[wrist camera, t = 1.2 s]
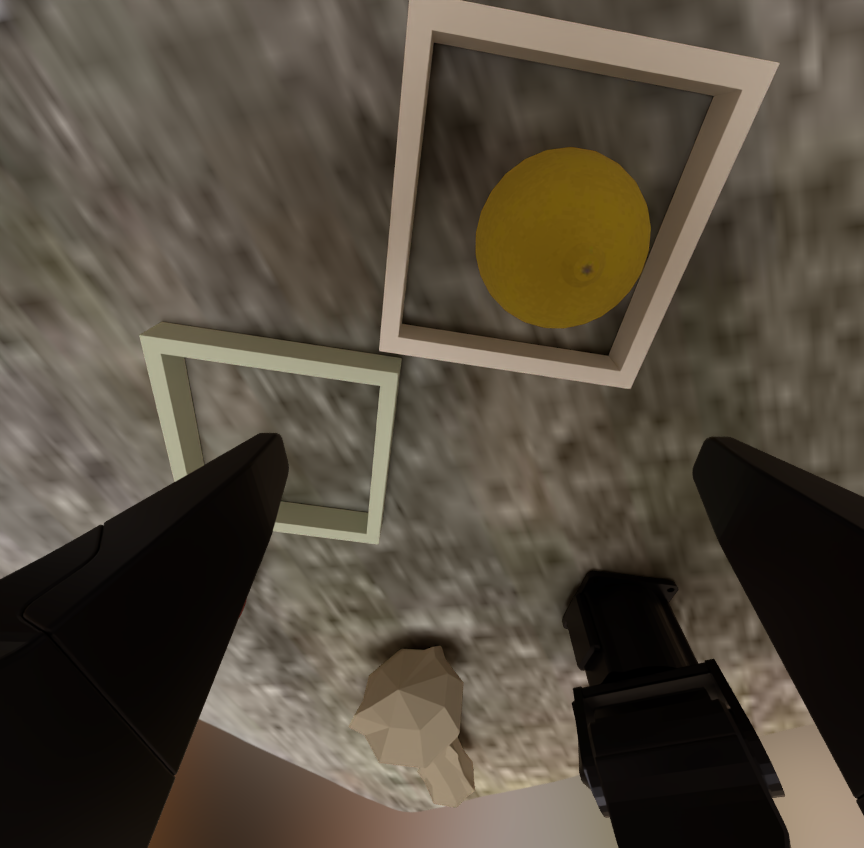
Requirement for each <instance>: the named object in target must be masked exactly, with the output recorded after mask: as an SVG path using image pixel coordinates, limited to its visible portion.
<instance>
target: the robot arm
mask: <svg viewBox="0 0 864 848" xmlns="http://www.w3.org/2000/svg"><path fill="white" fill-rule="evenodd" d="M288 472H289V464H288V459H287V455H286V451H285V447H284V443H283V440H282V437H281V435H279V434H278V433H259V434H257V435H255V436H254V437H252V438H250V439H249V440H247V441H245V442H243V443H242V444H240V445H238V446H236V447H235V448H233V449H231V450H229V451H228V452H226V453H224V454H222V455H221V456H219V457H217V458H216V459H214V460H212V461H210V462H209V463H207V464H205V465H203V466H202V467H200V468H198V469H196V470H195V471H193V472H191V473H189V474H188V475H186V476H184V477H182V478H181V479H179V480H177V481H176V482H174V483H172V484H170V485H169V486H167V487H165V488H163V489H162V490H160V491H158V492H156V493H155V494H153V495H151V496H149V497H148V498H146V499H144V500H142V501H141V502H139V503H137V504H136V505H134V506H132V507H130V508H129V509H127V510H125V511H123V512H122V513H120V514H118V515H116V516H115V517H113V518H111V519H109V520H108V521H106V522H105V523H104V526H103V525H99V526H97V527H95V528H94V529H92V530H90V531H88V532H87V533H85V534H83V535H82V536H80V537H78V538H76V539H74V540H73V541H71V542H69V543H67V544H65V545H64V546H62V547H60V548H58V549H57V550H55V551H53V552H51V553H49V554H48V555H46V556H44V557H42V558H40V559H38V560H36V561H34V562H32V563H30V564H29V565H27V566H25V567H23V568H21V569H19V570H17V571H15V572H13V573H11V574H9V575H7V576H6V577H4V578H2V579H0V848H148V845H149V843H150V840H151V838H152V835H153V833H154V830H155V828H156V825H157V823H158V820H159V818H160V815H161V813H162V810H163V808H164V805H165V803H166V800H167V798H168V795H169V793H170V790H171V788H172V785H173V783H174V780H175V776H174V775H176V774H177V772H178V769H179V767H180V764H181V762H182V759H183V757H184V754H185V752H186V749H187V747H188V744H189V742H190V739H191V737H192V734H193V732H194V729H195V727H196V724H197V722H198V719H199V717H200V714H201V712H202V709H203V707H204V704H205V702H206V699H207V697H208V694H209V692H210V689H211V686H212V684H213V681H214V679H215V676H216V674H217V671H218V669H219V666H220V664H221V661H222V659H223V656H224V654H225V651H226V649H227V646H228V644H229V641H230V639H231V636H232V634H233V631H234V629H235V626H236V624H237V621H238V619H239V616H240V614H241V611H242V609H243V606H244V604H245V601H246V599H247V596H248V594H249V591H250V589H251V586H252V584H253V581H254V579H255V576H256V574H257V571H258V569H259V566H260V564H261V561H262V558H263V556H264V553H265V551H266V548H267V546H268V543H269V541H270V538H271V535H272V532H273V529H274V525H275V522H276V518H277V514H278V511H279V507H280V503H281V499H282V495H283V492H284V488H285V484H286V480H287V477H288ZM693 479H694V482H695V484H696V487H697V489H698V492H699V494H700V497H701V499H702V502H703V505H704V507H705V510H706V512H707V515H708V517H709V520H710V522H711V525H712V527H713V530H714V532H715V534H716V537H717V539H718V541H719V543H720V545H721V547H722V549H723V551H724V553H725V555H726V557H727V559H728V561H729V563H730V564H731V566H732V568H733V570H734V572H735V574H736V576H737V578H738V580H739V581H740V583H741V585H742V587H743V589H744V591H745V593H746V595H747V596H748V598H749V600H750V602H751V604H752V606H753V608H754V610H755V611H756V613H757V615H758V617H759V619H760V621H761V623H762V625H763V626H764V628H765V630H766V632H767V634H768V636H769V638H770V640H771V642H772V643H773V645H774V647H775V649H776V651H777V653H778V655H779V657H780V658H781V660H782V662H783V664H784V666H785V668H786V670H787V672H788V673H789V675H790V677H791V679H792V681H793V683H794V685H795V687H796V689H797V690H798V692H799V694H800V696H801V698H802V700H803V702H804V704H805V705H806V707H807V709H808V711H809V713H810V715H811V717H812V719H813V720H814V722H815V724H816V726H817V728H818V730H819V732H820V734H821V736H822V737H823V739H824V741H825V743H826V745H827V747H828V749H829V751H830V752H831V754H832V756H833V758H834V760H835V762H836V763H837V766H838V767H839V769H840V771H841V773H842V775H843V777H844V779H845V781H846V782H847V784H848V786H849V788H850V790H851V792H852V794H853V796H854V797H855V798H857V800H856V801H857V804H858V806H859V808H860V809H861V811H862V813H863V815H864V497H863V496H860V495H858V494H856V493H854V492H851V491H849V490H847V489H845V488H843V487H840V486H838V485H836V484H834V483H831V482H829V481H827V480H825V479H823V478H820V477H818V476H816V475H814V474H811V473H809V472H807V471H805V470H803V469H800V468H798V467H796V466H794V465H792V464H789V463H787V462H785V461H783V460H780V459H778V458H776V457H774V456H772V455H769V454H767V453H765V452H763V451H760V450H758V449H756V448H754V447H752V446H749V445H747V444H745V443H743V442H740V441H738V440H736V439H734V438H731V437H709V438H707V439H706V440H705V441H704V443H703V445H702V447H701V450H700V452H699V454H698V457H697V459H696V462H695V464H694V466H693ZM677 591H678V587H677V585H676V583H675V582H674V581H669V580H661V579H653V578H646V577H638V576H630V575H622V574H614V573H607V572H599V571H592V572H589V573H588V574H587V575H586V577H585V579H584V581H583V583H582V585H581V586H580V588H579V590H578V592H577V594H576V595H575V596H574V598H573V600H572V602H571V604H570V605H569V607H568V609H567V611H566V613H565V616H564V618H563V620H562V623H563V627H564V628H565V629H568V630H569V634H570V638H571V642H572V646H573V650H574V654H575V658H576V662H577V666H578V667H579V669H580V670H583V671H585V672H586V676H587V679H588V683H589V687H584V688H582V687H581V686H580V687H576V688H573V692H574V699H575V700H574V701H573V702H572V707H573V711H574V716H575V720H576V727H577V734H578V751H579V773H580V777H581V780H582V782H583V783H584V784H585V785H586V786H587V787H588V788H590V789H591V791H592V793H593V796H594V798H595V799H596V802H597V804H598V806H599V809H600V811H601V813H602V814H603V815H604V817H606V818H608V817H610V819H611V823H612V827H613V830H614V834H615V837H616V841H617V844H618V847H619V848H791V845H790V839H789V833H788V830H787V828H786V826H785V824H784V821H783V819H782V817H781V815H780V813H779V811H778V809H777V807H776V805H775V803H774V801H773V799H772V798H776V797H784V796H785V794H784V791H783V788H782V786H781V783H780V781H779V778H778V776H777V774H776V772H775V770H774V768H773V765H772V763H771V761H770V759H769V757H768V755H767V753H766V751H765V749H764V747H763V745H762V743H761V741H760V739H759V737H758V735H757V734H756V732H755V730H754V728H753V726H752V724H751V723H750V721H749V719H748V717H747V716H746V714H745V712H744V710H743V709H742V707H741V705H740V703H739V702H738V700H737V698H736V696H735V695H734V693H733V691H732V689H731V688H730V686H729V684H728V682H727V680H726V679H725V677H724V675H723V673H722V672H721V670H720V668H719V666H718V665H717V663H716V661H715V660H714V659H710V660H705V662H704V663H699V664H698V662H697V660H696V658H695V656H694V654H693V652H692V650H691V648H690V646H689V644H688V642H687V639H686V637H685V635H684V633H683V631H682V629H681V627H680V625H679V623H678V621H677V619H676V617H675V615H674V613H673V611H672V609H671V607H670V605H669V602H670V600H671V599H672V598H673V596H674V595H675V594H676V592H677Z"/></svg>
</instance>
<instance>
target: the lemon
mask: <svg viewBox="0 0 864 848" xmlns="http://www.w3.org/2000/svg"><path fill="white" fill-rule="evenodd" d="M650 232H651V226H650V220H649V213H648V207H647V204H646V202H645V200H644V197H643V195H642V193H641V191H640V189H639V187H638V185H637V183H636V182H635V181H634V179H633V178H632V177H631V176H630V175H629V174H628V173H627V172H626V171H625V170H624V169H623V168H622V167H621V166H620V165H619V164H618V163H617V162H615V161H613V160H611V159H609V158H608V157H606V156H604V155H602V154H600V153H598V152H597V151H592V150H586V149H581V148H575V147H567V148H559V149H551V150H546V151H543V152H541V153H538V154H536V155H534V156H531V157H529V158H526V159H525V160H523V161H522V162H521V163H519V164H518V165H517V166H515V167H514V168H513V169H511V170H510V171H509V172H507V173H506V174H505V175H504V177H503V178H502V179H501V180H500V181H499V183H498V184H497V185H496V186H495V188H494V189H493V190H492V191H491V193H490V195H489V197H488V199H487V201H486V203H485V205H484V207H483V209H482V211H481V214H480V218H479V222H478V226H477V230H476V259H477V263H478V267H479V271H480V276H481V278H482V280H483V281H484V283H485V285H486V287H487V289H488V291H489V293H490V295H491V296H492V297H493V298H494V299H495V300H496V301H497V302H498V303H499V304H500V305H501V306H502V308H503V309H504V310H505V311H507V312H508V313H510V314H512V315H513V316H515V317H517V318H518V319H520V320H522V321H523V322H526V323H529V324H533V325H536V326H539V327H543V328H568V327H573V326H578V325H582V324H585V323H588V322H590V321H592V320H594V319H597V318H599V317H601V316H603V315H604V314H605V313H607V312H608V311H609V310H611V309H612V308H614V307H615V306H616V305H617V304H618V303H619V302H620V301H621V300H622V299H623V298H624V297H625V296H626V295H627V294H628V293H629V291H630V290H631V289H632V287H633V286H634V284H635V282H636V281H637V279H638V277H639V276H640V274H641V272H642V270H643V267H644V264H645V261H646V258H647V255H648V251H649V242H650Z"/></svg>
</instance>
